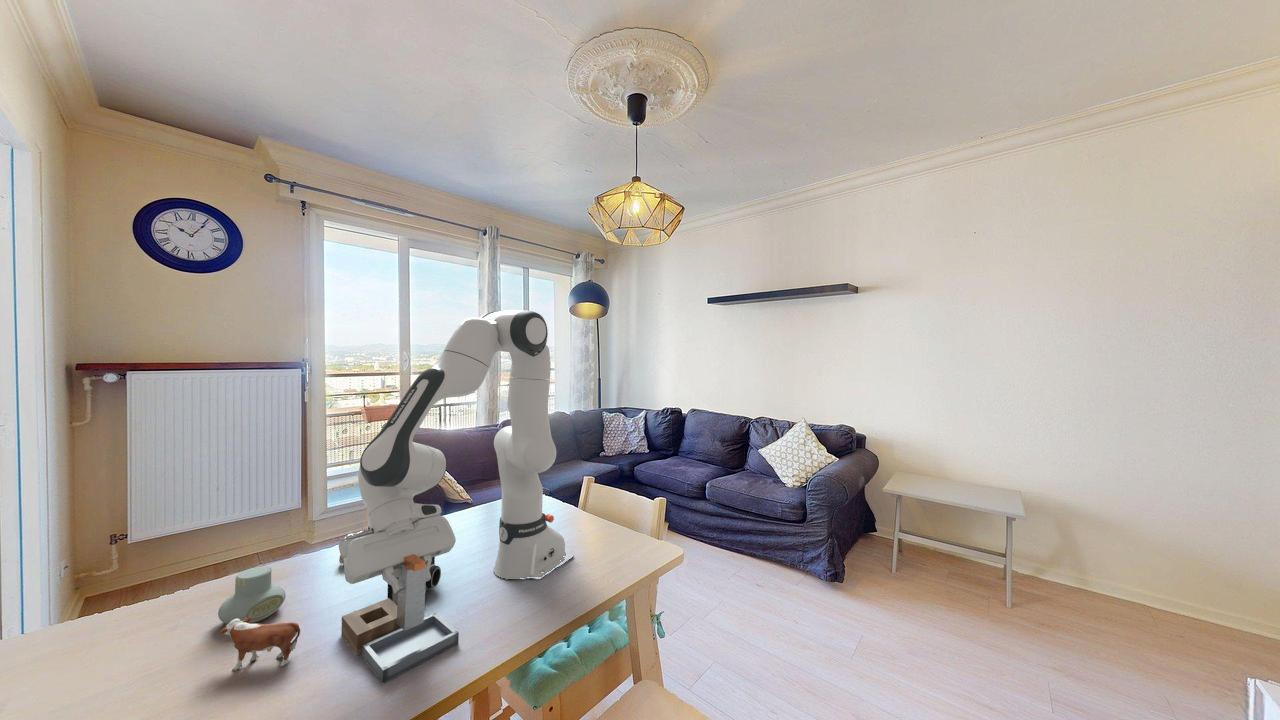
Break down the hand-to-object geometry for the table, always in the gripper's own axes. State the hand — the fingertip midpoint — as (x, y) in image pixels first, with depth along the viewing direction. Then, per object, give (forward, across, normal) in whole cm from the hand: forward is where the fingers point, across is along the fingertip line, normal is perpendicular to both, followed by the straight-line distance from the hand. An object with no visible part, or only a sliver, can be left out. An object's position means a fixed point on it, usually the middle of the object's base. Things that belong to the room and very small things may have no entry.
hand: (413, 585), depth 83 cm
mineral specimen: (-23, +7, +42) cm, 49 cm away
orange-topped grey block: (+5, 0, +6) cm, 8 cm away
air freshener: (-17, -18, +36) cm, 44 cm away
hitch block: (+1, -3, +18) cm, 18 cm away
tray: (+9, 0, +10) cm, 13 cm away
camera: (-5, +10, +24) cm, 27 cm away
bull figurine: (-3, -20, +23) cm, 30 cm away
